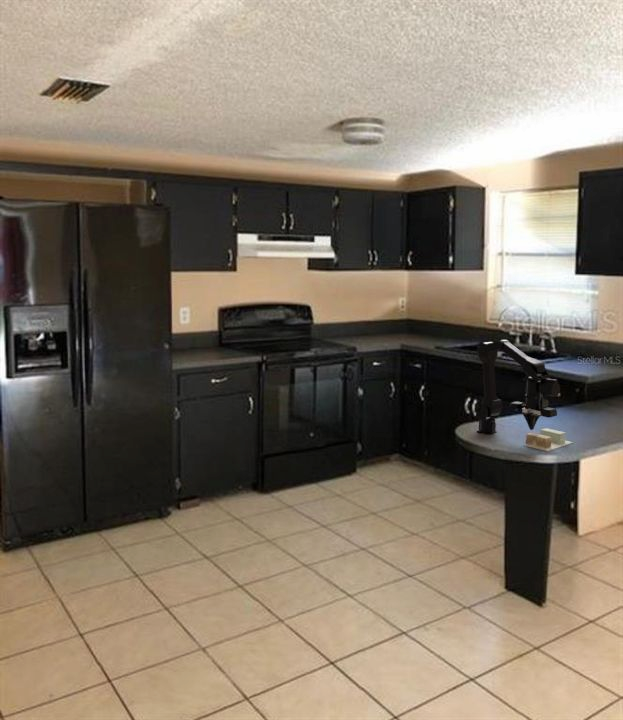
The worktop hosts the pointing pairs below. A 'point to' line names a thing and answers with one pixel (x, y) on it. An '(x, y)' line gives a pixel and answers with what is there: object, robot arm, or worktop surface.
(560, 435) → the sage block
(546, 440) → the oak block
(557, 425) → the worktop surface
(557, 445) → the mat
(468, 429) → the worktop surface
